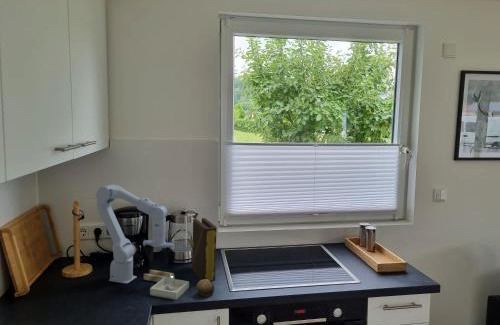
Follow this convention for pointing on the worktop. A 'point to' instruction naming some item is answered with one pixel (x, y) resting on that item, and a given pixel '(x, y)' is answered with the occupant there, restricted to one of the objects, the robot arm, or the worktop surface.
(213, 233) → the book
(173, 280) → the cylinder
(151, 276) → the trough
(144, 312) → the worktop surface
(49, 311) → the worktop surface
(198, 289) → the mushroom
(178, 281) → the dish
